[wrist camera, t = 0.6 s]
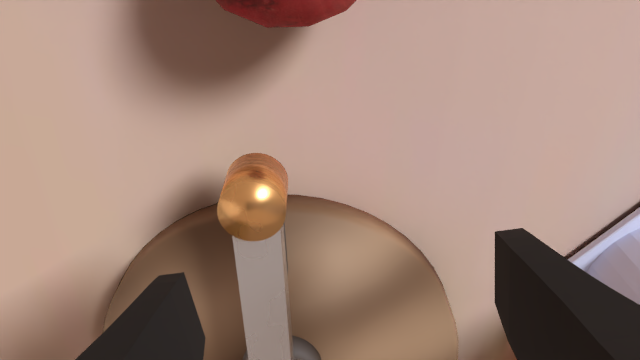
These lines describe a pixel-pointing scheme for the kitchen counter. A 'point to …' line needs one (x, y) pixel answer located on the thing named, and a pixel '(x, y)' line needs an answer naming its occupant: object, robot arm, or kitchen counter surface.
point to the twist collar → (260, 252)
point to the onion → (286, 11)
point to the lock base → (309, 285)
